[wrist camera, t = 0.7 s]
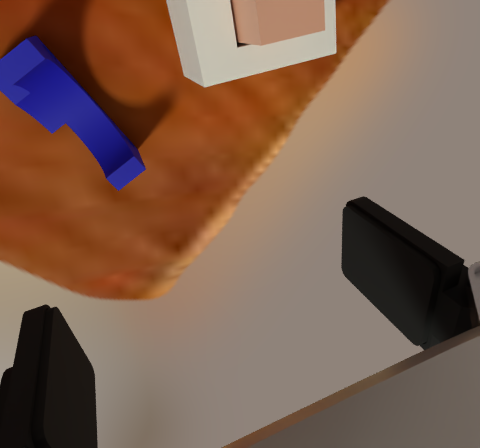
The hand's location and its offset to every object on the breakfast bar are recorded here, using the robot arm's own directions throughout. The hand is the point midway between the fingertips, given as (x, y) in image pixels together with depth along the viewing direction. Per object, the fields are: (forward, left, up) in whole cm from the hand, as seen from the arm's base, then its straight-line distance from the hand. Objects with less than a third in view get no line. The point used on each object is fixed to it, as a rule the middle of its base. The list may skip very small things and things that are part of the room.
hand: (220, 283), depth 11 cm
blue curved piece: (-1, -5, -28) cm, 28 cm away
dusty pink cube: (-7, +12, -23) cm, 26 cm away
